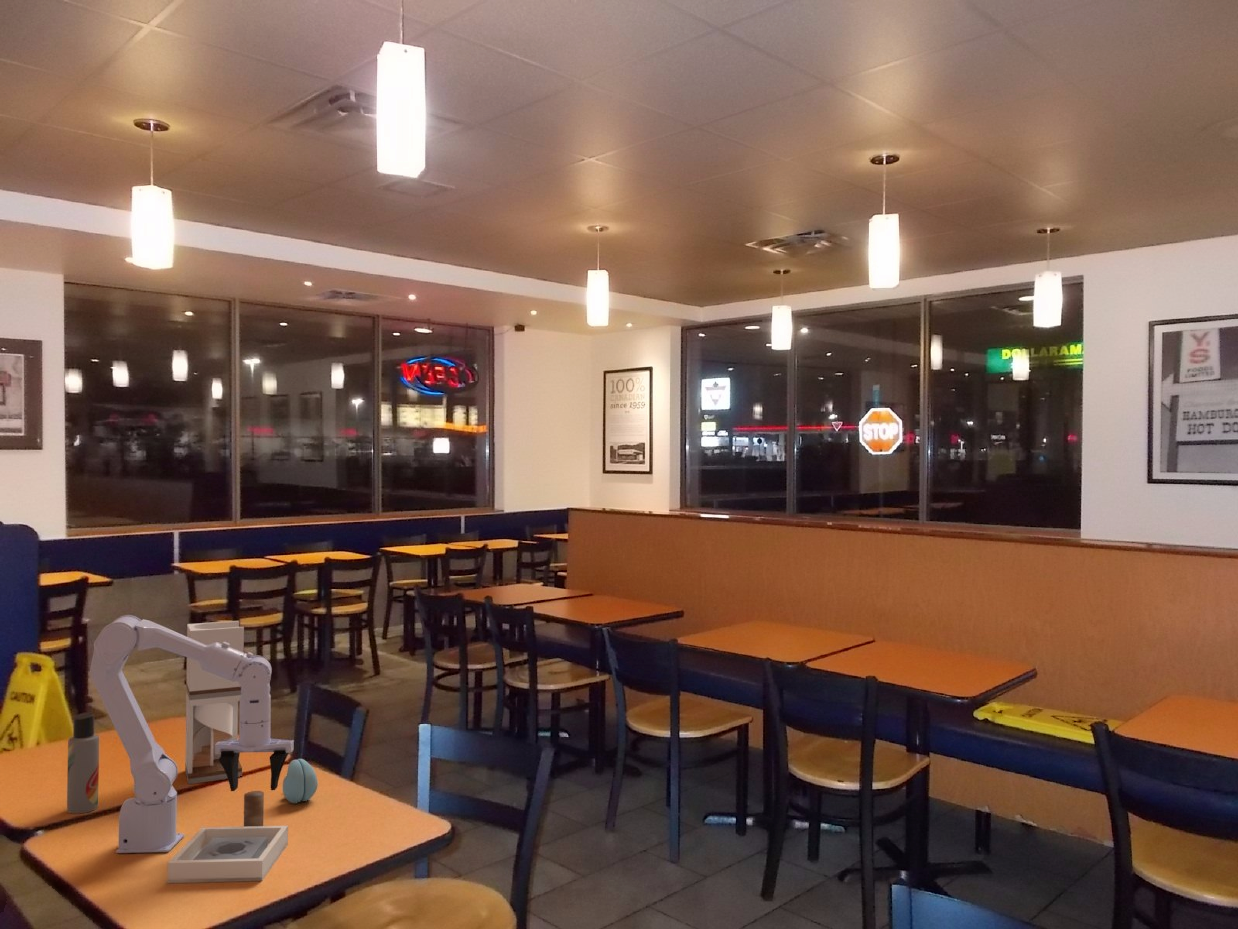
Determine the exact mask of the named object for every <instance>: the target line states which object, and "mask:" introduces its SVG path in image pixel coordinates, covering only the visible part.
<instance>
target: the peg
mask: <svg viewBox="0 0 1238 929" xmlns="http://www.w3.org/2000/svg"><path fill="white" fill-rule="evenodd" d="M264 796H265V793H264V791H261V790H252V791H249V792H246V793H244V794H243V827H248V826H264V811H265V810H264V808H265V807H264V802H265V801H264V800H265V797H264Z"/></svg>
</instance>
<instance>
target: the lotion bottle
mask: <svg viewBox="0 0 1238 929" xmlns="http://www.w3.org/2000/svg"><path fill="white" fill-rule="evenodd" d="M72 723H73V726H72V728H73V729H72V736H71V737H69V738H68V739H67V781H66V784H67V785H66V788H67V789H66V811H67V813H69V814H75V815H76V814H85V813H88V812H92V811H94V810H96V809H97V808H98V806H99V785H100V784H99V780H100V779H99V778H100V776H99V774H100V771H99V770H100V768H99V767H100V736H99V734H96V733H95V714H93V713H92V712H82V713H78V714H76V715H74V716H73V722H72Z"/></svg>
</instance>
